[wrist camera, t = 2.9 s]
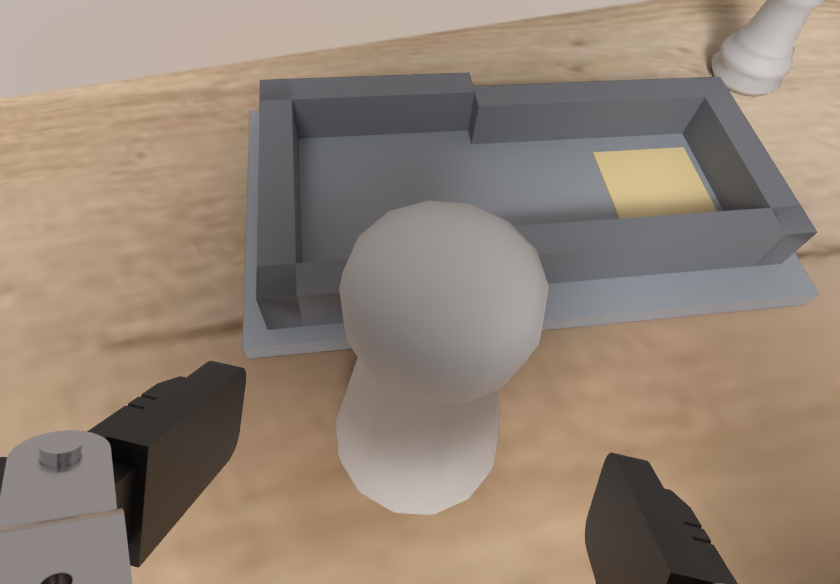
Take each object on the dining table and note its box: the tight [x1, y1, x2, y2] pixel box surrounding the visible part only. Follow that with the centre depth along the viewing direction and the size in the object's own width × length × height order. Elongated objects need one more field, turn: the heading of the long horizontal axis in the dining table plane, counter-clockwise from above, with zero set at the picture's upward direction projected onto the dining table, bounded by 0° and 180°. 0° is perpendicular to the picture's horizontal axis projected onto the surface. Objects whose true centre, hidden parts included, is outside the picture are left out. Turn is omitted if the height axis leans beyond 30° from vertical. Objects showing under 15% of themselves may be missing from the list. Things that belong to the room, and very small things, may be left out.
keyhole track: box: [242, 73, 819, 359], centre depth 27 cm, size 26×14×4 cm, turn 98°
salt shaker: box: [335, 201, 549, 515], centre depth 16 cm, size 6×6×13 cm
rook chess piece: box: [711, 0, 824, 96], centre depth 32 cm, size 4×4×8 cm
